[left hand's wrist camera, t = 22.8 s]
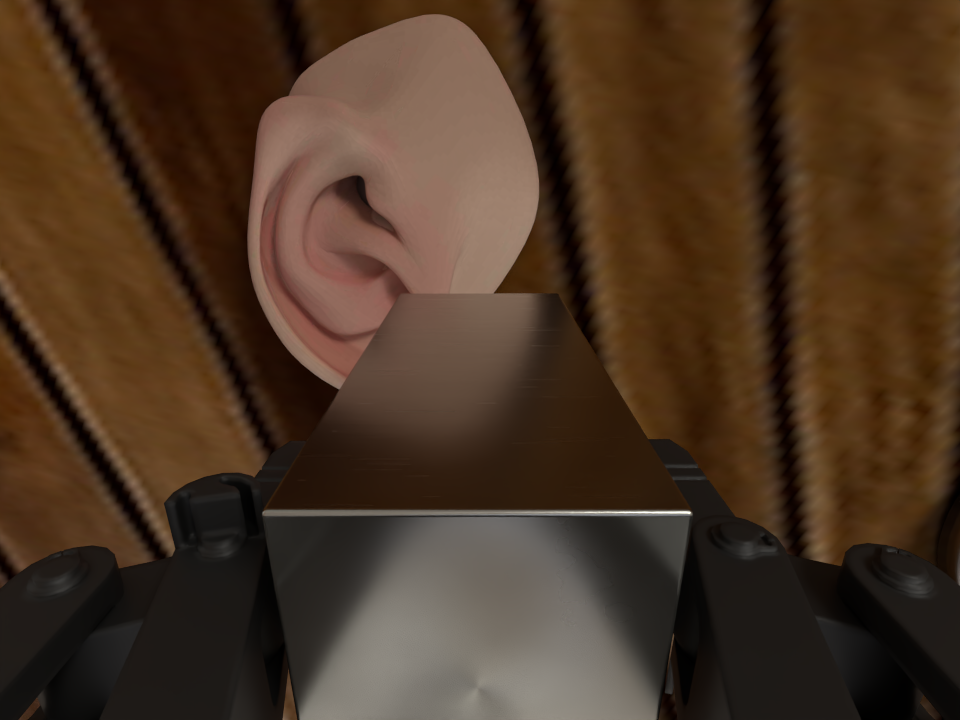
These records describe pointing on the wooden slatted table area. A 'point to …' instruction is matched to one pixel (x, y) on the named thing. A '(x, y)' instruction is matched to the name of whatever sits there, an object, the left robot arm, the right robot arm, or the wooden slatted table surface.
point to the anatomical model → (386, 187)
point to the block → (477, 528)
